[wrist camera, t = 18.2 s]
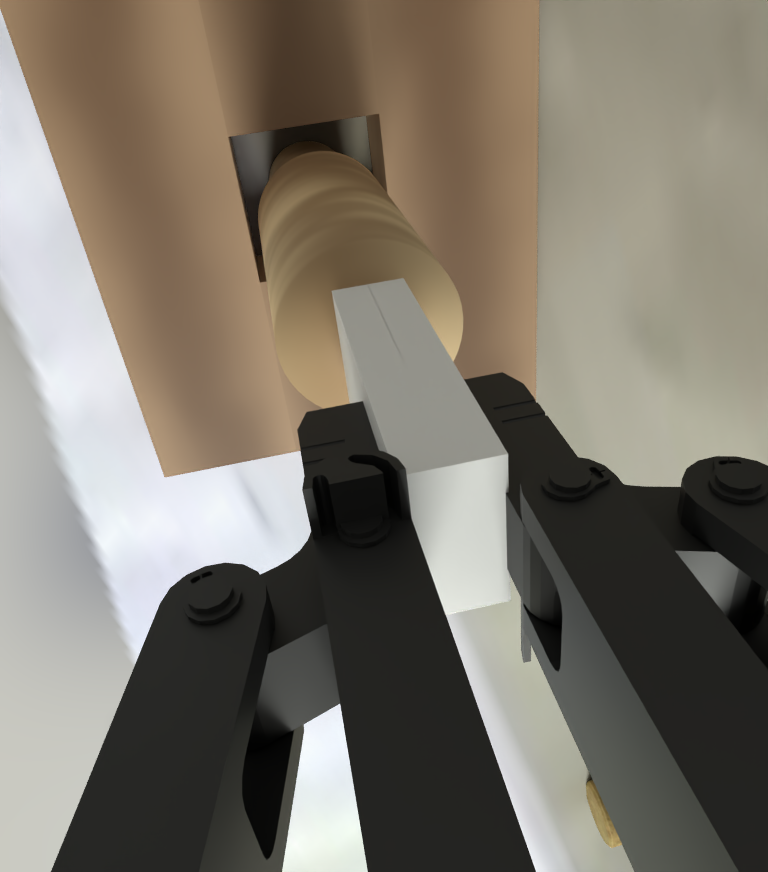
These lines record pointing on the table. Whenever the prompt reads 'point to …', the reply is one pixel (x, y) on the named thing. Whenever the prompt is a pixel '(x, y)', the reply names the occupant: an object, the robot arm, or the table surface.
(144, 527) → the table surface
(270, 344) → the board
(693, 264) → the table surface
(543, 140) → the table surface
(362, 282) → the peg
